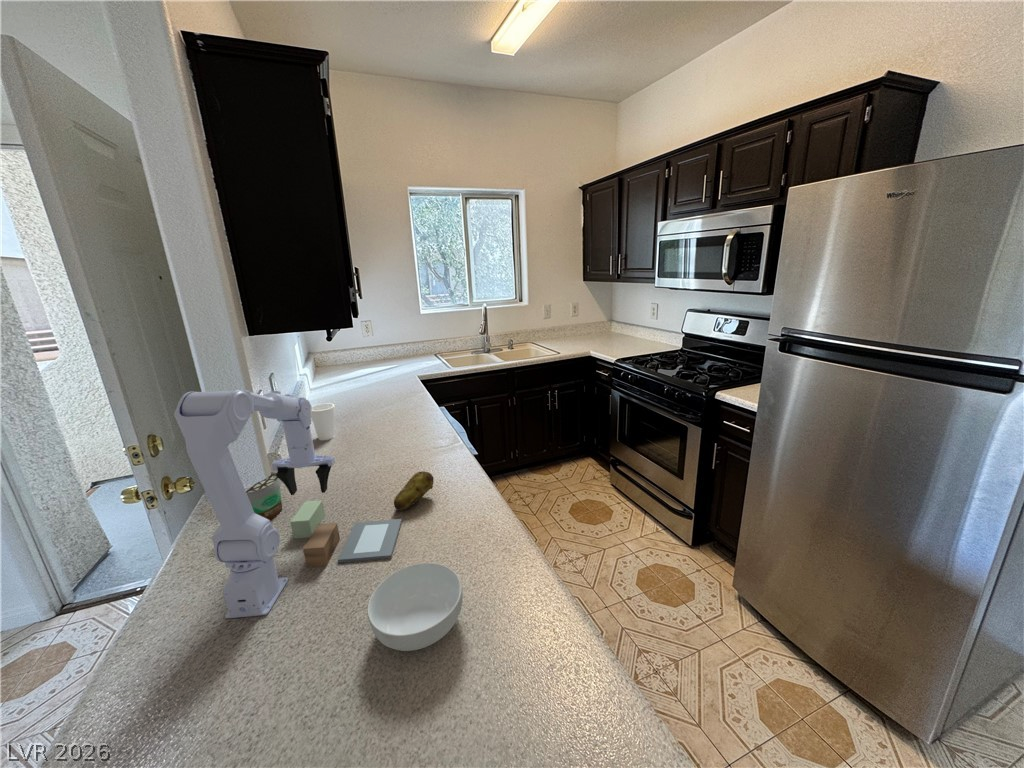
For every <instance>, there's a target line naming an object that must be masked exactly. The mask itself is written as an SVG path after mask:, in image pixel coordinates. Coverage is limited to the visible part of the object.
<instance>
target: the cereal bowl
mask: <svg viewBox="0 0 1024 768" xmlns="http://www.w3.org/2000/svg"><path fill="white" fill-rule="evenodd" d="M462 603H463V586H462V580H461V579H460V577H459V575H458V573H456V572H455V571H454V570H453V569H451V568H450V567H448V566H446V565H445V564H440V563H437V562H420V563H418V562H417V563H415V564H411V565H407V566H404V567H401V568H400V569H398V570H396V571H394V572H392V573H391V574H389V575H388V576H387V577H386V578H384V579H383V580H382V581H381V582H380V583H379V584H378V585H377V587H376V588H375V589H374V591H372V594H371V596H370V598H369V601H368V603H367V619H368V622H369V626H370V629H371V631H372V633H373V634H374V636H375V638H376V639H377V640H378V641H379V642H380V643H381V644H383V645H384V646H386V647H388V648H390V649H392V650H396V651H403V652H411V651H417V650H421V649H424V648H427V647H429V646H432V645H434V644H435V643H436V642H438V641H439V640H441V639H443V638H444V636H446V635H447V633H449V632H450V630H451V629H452V628H453V627H454V625H455V623H456V622H457V620H458V619H459V616H460V614H461V610H462V606H463V604H462Z"/></svg>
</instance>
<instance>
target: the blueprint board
mask: <svg viewBox="0 0 1024 768" xmlns="http://www.w3.org/2000/svg"><path fill="white" fill-rule="evenodd" d="M402 524H403V518H397V519H396V518H395V519H385V520H384V519H383V520H382V519H381V520H373V521H372V520H370V521H369V520H368V521H360V522H359V521H357V522H354V524H353V526H352V529H351V531H350V533H349V534H348V537H347V539H346V541H345V543H344V546H343V548H342V550H341V552H340V554H339V556H338V558H337V562H338V563H351V562H363V561H373V560H375V561H376V560H386V559H392V557H393V553H394V551H395V547H396V543H397V541H398V536H399V533H400V530H401V527H402Z"/></svg>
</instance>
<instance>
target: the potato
mask: <svg viewBox="0 0 1024 768" xmlns="http://www.w3.org/2000/svg"><path fill="white" fill-rule="evenodd" d="M434 478H435V477H434V476H433V474H432V473H430V472H429V471H418V472H416V473H414V475H412V477H411V478H409V480H408V481H407V482H406V483H405V484H404V485H403V486H404V487H402V489H401V490H400V491H399V492H398V493H397V494H396V496H395V498H394V500H393V507H394V509H396V510H397V511H405V510H407V509H408V508H410V506H412V505H414V504H416V503H417V502H418V501H420V500H421V499H422V498H423V497H424V496H425V495H426V494H427V493H428V491H430V490H431V489H433V488H434V483H435V480H434Z"/></svg>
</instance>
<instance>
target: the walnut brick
mask: <svg viewBox="0 0 1024 768" xmlns="http://www.w3.org/2000/svg"><path fill="white" fill-rule="evenodd" d="M339 531H340V530H339V526H338V522H332V523H331V522H329V523H321V524H318V526H317V527H316V529H315V530H314V532H313V534H312V535H311V537H309V538H308V540H307V542H306V544H305V545H304V547H303V548H302V551H303V556H304V560H305V564H306V568H308V567H309V568H311V567H323V566H328V565H329V563H330V561H331V559H332V557H333V554H334V553H335V551H336V549H337V547H338V545H339V543H340V541H341V536H340V532H339Z"/></svg>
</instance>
